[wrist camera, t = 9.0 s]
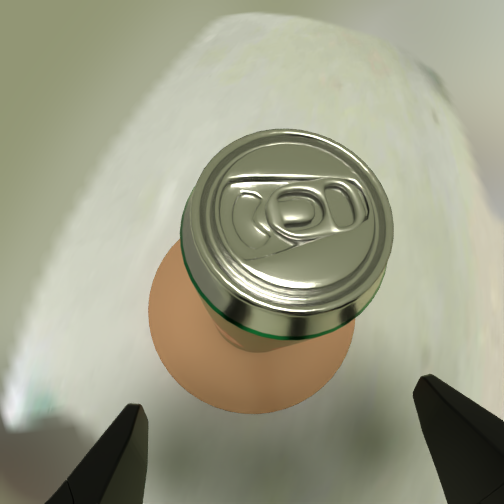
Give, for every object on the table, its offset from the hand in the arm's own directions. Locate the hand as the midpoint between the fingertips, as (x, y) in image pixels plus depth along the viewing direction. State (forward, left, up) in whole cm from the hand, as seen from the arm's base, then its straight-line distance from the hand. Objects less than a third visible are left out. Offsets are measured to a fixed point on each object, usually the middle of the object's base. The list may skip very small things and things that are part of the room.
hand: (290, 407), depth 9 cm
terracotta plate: (+4, -1, -10) cm, 11 cm away
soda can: (+4, -1, -8) cm, 9 cm away
